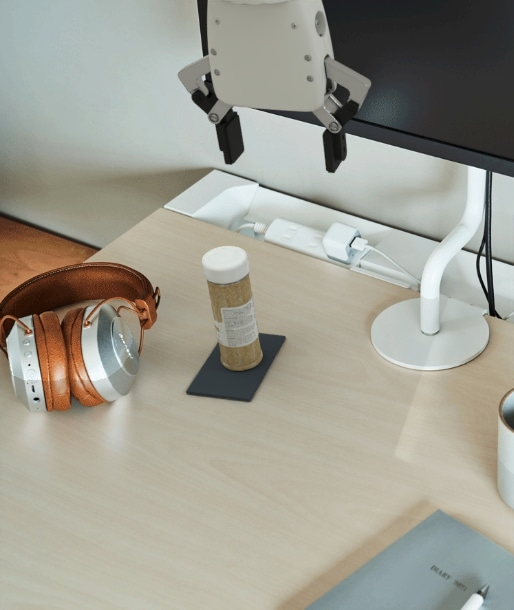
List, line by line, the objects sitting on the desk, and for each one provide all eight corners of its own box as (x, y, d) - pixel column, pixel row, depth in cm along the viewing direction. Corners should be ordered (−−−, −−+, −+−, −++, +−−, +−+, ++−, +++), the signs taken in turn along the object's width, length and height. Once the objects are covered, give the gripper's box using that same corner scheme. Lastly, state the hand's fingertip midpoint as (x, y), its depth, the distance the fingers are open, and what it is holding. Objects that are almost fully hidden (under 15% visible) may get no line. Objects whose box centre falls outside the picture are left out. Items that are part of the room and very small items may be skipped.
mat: (186, 394, 96) (185, 391, 96) (227, 331, 105) (226, 328, 105) (250, 402, 96) (249, 399, 95) (285, 338, 104) (285, 335, 104)
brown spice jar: (220, 350, 102) (200, 246, 94) (262, 344, 103) (246, 241, 95) (221, 376, 98) (200, 270, 90) (265, 369, 99) (248, 265, 91)
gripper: (373, -35, 77) (385, 151, 87) (179, -44, 80) (212, 138, 89) (348, -8, 71) (364, 189, 81) (139, -19, 74) (179, 173, 83)
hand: (284, 162), depth 85 cm, fingers open, 9 cm apart
